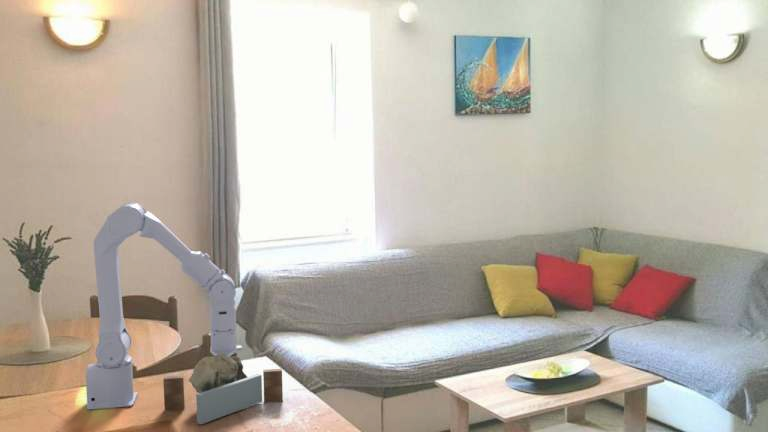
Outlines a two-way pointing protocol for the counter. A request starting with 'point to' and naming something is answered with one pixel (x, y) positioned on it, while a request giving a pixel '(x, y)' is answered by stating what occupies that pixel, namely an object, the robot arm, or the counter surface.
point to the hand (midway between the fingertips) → (225, 386)
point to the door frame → (176, 389)
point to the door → (228, 398)
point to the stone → (216, 372)
